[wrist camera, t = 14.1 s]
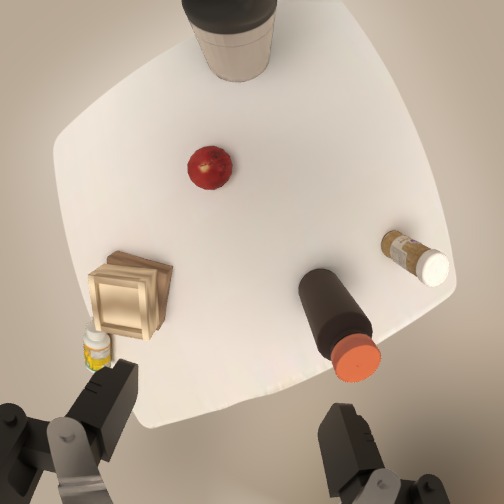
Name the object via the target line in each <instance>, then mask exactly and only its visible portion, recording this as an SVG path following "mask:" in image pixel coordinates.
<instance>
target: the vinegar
mask: <svg viewBox="0 0 504 504" xmlns="http://www.w3.org/2000/svg"><path fill="white" fill-rule="evenodd" d="M299 296H300V299H301V302H302V305H303V308H304V311H305V313H306V316H307V319H308V322H309V325H310V328H311V330H312V333H313V336H314V339H315V342H316V345H317V348H318V351H319V352H320V353H321V354H322V356H323V357H324V358H326V359H328V360H330V361H332V364H333V367H334V370H335V372H336V375H337V376H338V378H340V379H341V380H343V381H345V382H358V381H361V380H364V379H366V378H367V377H369V376H370V375H372V374H373V373H374V371H375V370H376V369H377V367H378V366H379V363H380V360H381V353H380V351H379V349H378V348H377V346H376V345H375V343H374V342H373V340H372V339H371V338H372V333H373V331H372V325H371V322H370V321H369V319H368V318H367V316H366V315H365V314H364V312H363V311H362V309H361V308H360V307H359V305H358V304H357V303H356V301H355V300H354V299H353V297H352V296H351V295H350V293H349V292H348V291H347V289H346V288H345V287H344V285H343V284H342V283H341V281H340V280H339V279H338V278H337V276H336V275H335V274H334V273H332V272H331V271H329V270H325V269H317V270H314V271H311V272H309V273H308V274H307V275H305V277H304V278H303V279H302V280H301V283H300V286H299Z"/></svg>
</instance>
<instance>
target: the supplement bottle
mask: <svg viewBox="0 0 504 504" xmlns="http://www.w3.org/2000/svg"><path fill="white" fill-rule="evenodd" d="M83 343H84V355H85V364H86V367H87V368H88V369H89V370H90V371H91V372H93V373H95V372H96V371H98V370H99V369H101V368H103V367H105V366H106V367H109V368H110V367H111V356H110V337H109V336H108V334H107V333H106V332H101V331H97V330H96V327H95V322H94V321H90V322H89V323H87V325H86V333H85V335H84V337H83Z"/></svg>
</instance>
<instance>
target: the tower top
mask: <svg viewBox="0 0 504 504" xmlns="http://www.w3.org/2000/svg"><path fill="white" fill-rule="evenodd" d="M88 281H89V289H90V297H91V304H92V310H93V316H94V322H95V327H96V330H97V331H101V332H106V333H111V334H116V335H121V336H126V337H131V338H137V339H142V340H148V341H149V340H150V339H151V337H152V335H153V333H154V332H155V330H156V328H157V327H158V325H159V308H158V287H157V269H147V268H138V267H129V266H121V265H112V264H103V265H102V266H100V267H99V268H97V269H96V270H94V271H93V272H91V273H90V274H89V275H88Z"/></svg>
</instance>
